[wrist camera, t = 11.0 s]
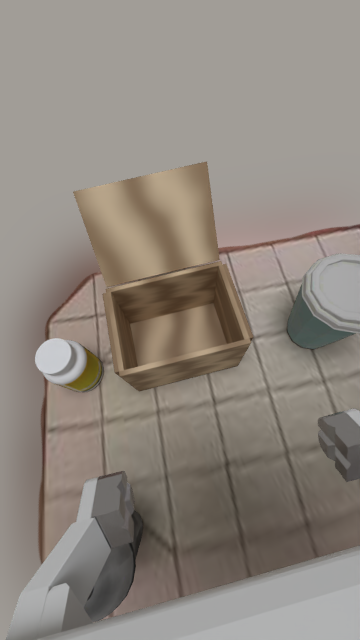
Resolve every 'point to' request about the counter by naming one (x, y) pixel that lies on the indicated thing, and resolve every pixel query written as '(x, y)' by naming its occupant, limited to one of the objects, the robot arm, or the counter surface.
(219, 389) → the counter surface
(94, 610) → the beverage cup
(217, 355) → the cardboard carton
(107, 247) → the lid flap
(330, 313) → the disposable coffee cup
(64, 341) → the pill bottle
